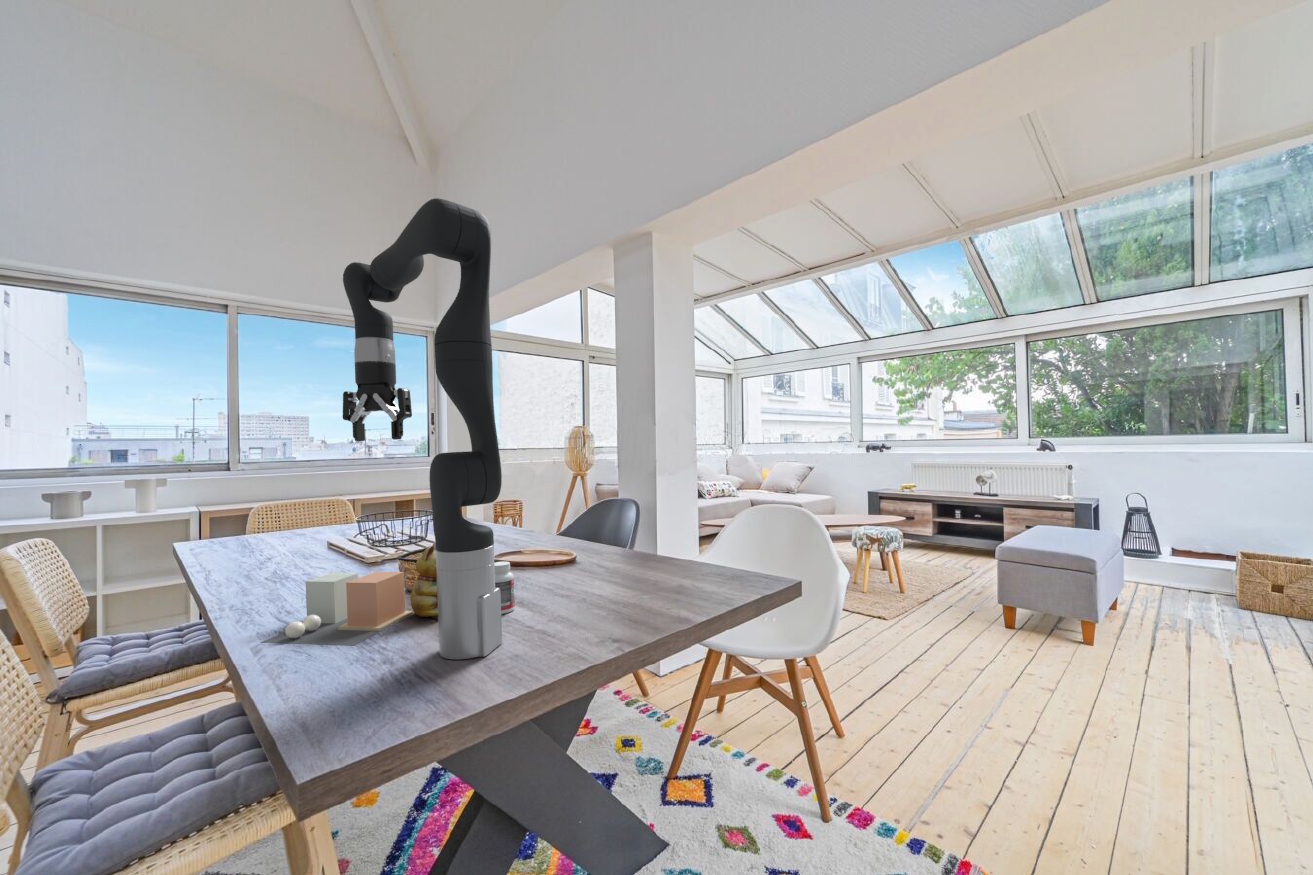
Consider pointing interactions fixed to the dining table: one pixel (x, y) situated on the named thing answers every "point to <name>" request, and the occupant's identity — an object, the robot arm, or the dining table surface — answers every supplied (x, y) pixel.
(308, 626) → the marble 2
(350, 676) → the dining table surface
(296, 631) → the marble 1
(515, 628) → the dining table surface
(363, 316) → the robot arm
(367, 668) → the dining table surface
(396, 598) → the clay brown brick
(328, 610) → the pale green cube
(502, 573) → the pill bottle
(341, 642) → the mat
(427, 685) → the dining table surface
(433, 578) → the decorative figurine
